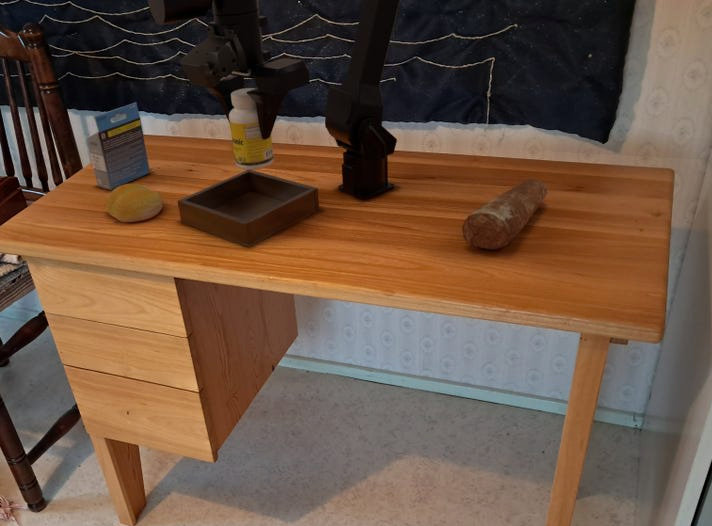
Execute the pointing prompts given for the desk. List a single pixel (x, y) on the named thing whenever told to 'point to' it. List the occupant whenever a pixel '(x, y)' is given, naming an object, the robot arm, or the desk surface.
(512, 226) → the salami
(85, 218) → the desk surface
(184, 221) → the tray
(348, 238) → the desk surface
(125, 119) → the label tape box
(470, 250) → the desk surface
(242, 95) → the supplement bottle
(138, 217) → the bread roll
